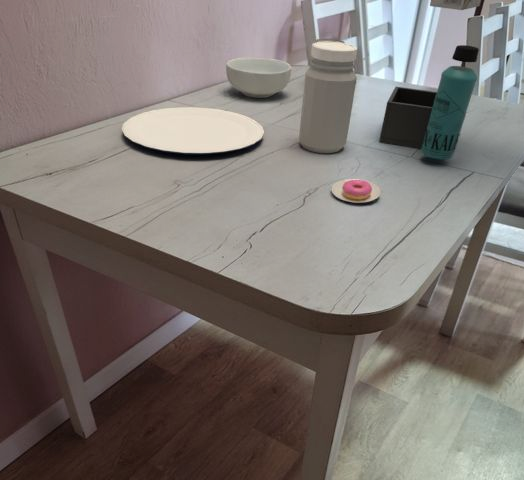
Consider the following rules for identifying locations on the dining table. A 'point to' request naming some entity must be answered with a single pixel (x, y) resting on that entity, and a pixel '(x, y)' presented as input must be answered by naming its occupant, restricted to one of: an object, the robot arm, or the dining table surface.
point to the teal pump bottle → (450, 106)
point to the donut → (356, 190)
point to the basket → (407, 117)
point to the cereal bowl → (258, 76)
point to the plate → (193, 130)
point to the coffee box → (455, 4)
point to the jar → (328, 97)
